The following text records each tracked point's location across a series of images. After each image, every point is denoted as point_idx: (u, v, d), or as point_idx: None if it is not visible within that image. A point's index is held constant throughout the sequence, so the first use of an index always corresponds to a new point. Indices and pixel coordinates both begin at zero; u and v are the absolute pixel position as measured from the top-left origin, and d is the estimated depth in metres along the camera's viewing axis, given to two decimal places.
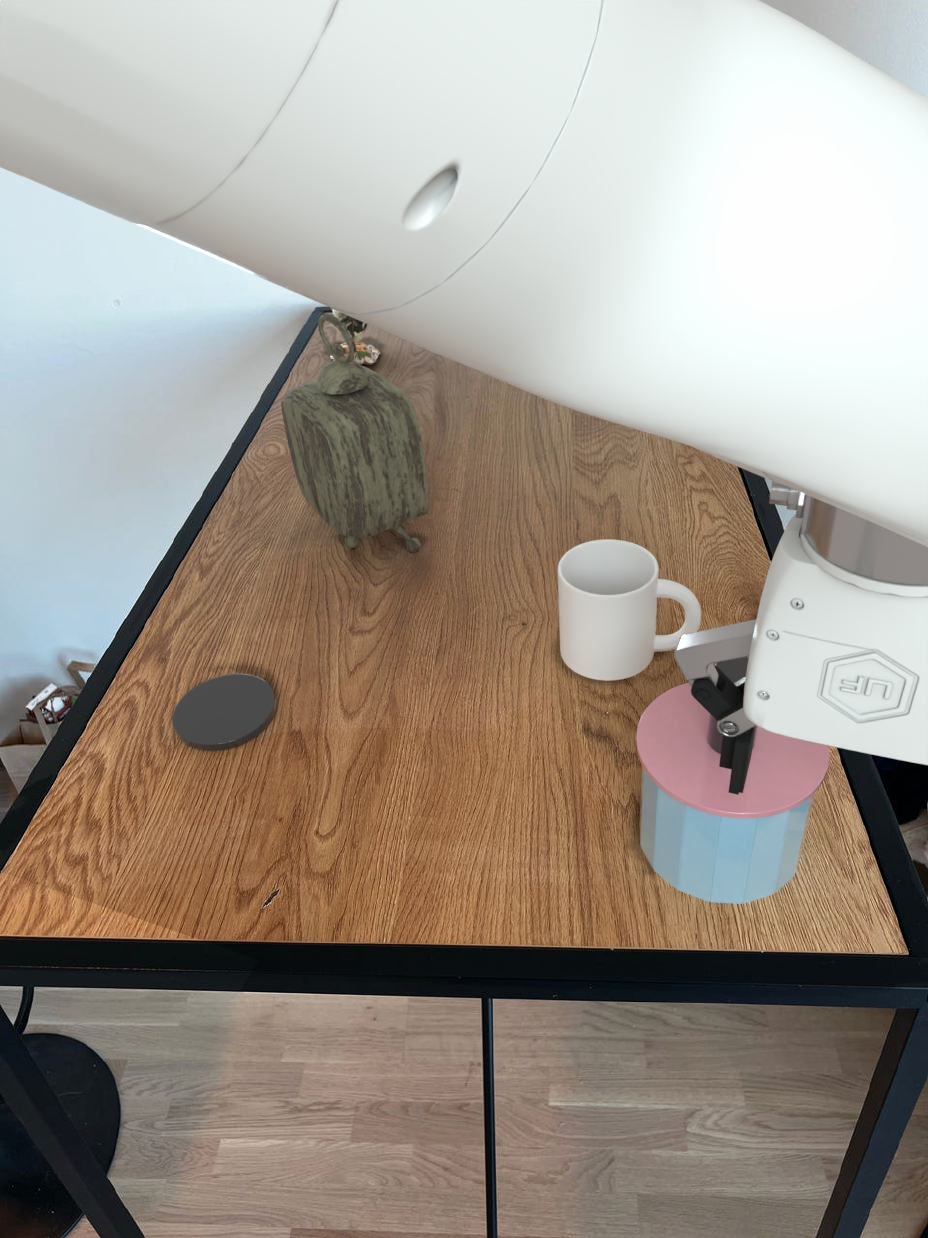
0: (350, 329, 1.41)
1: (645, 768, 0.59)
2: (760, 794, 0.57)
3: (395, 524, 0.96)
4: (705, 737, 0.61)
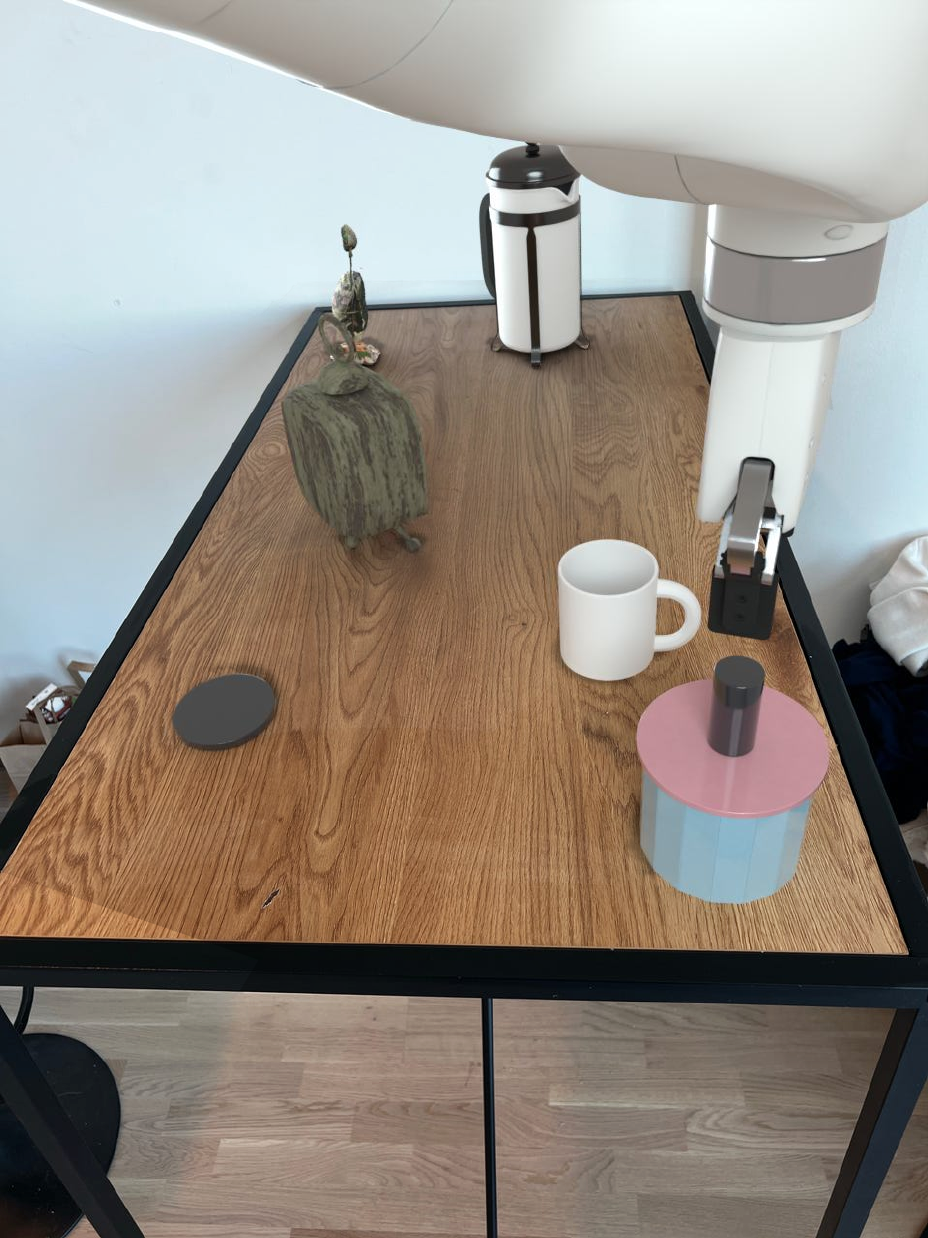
0: (350, 329, 1.41)
1: (645, 768, 0.59)
2: (760, 794, 0.57)
3: (395, 524, 0.96)
4: (705, 737, 0.61)
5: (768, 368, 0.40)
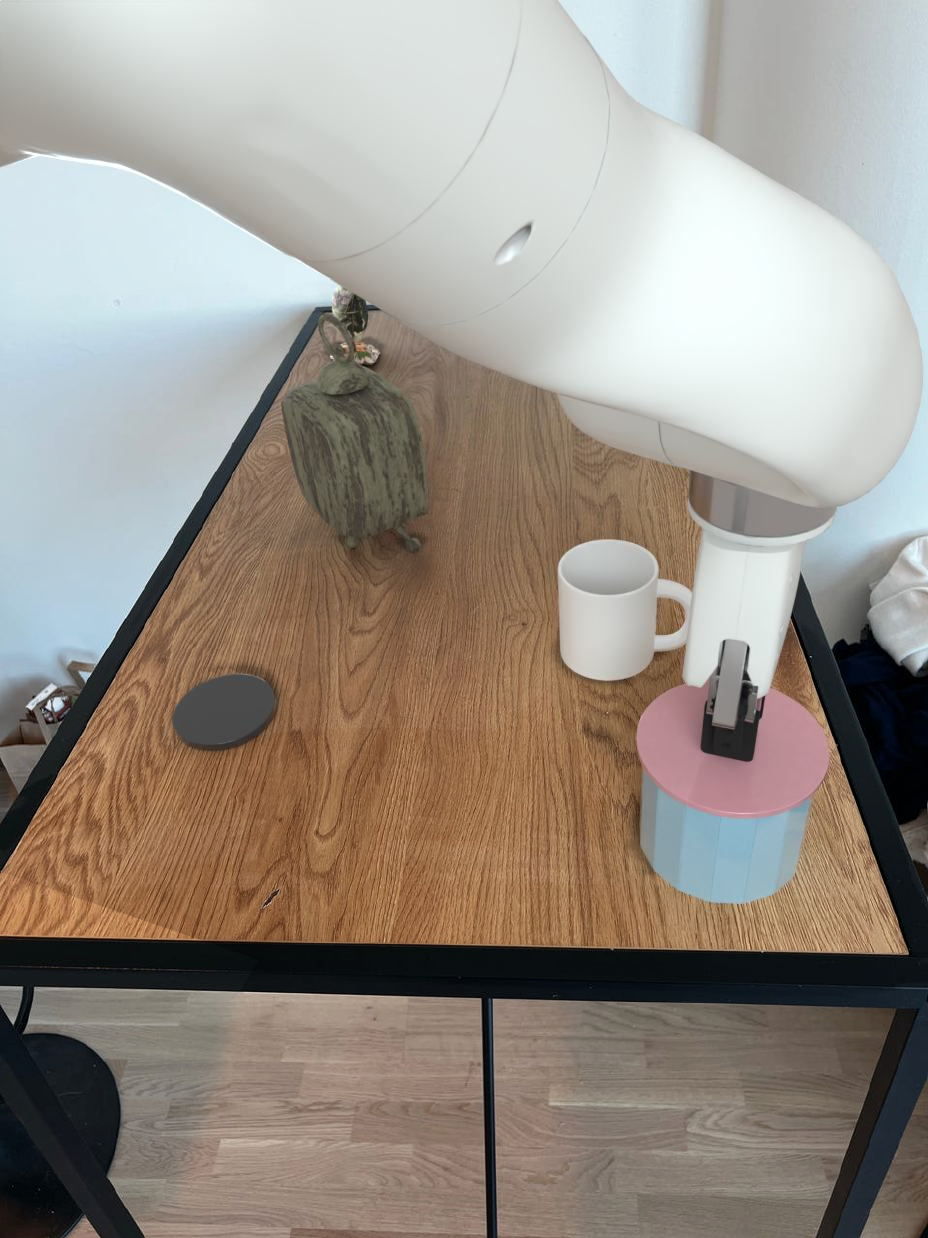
0: (350, 329, 1.41)
1: (645, 768, 0.59)
2: (760, 794, 0.57)
3: (395, 524, 0.96)
4: None
5: (743, 572, 0.47)
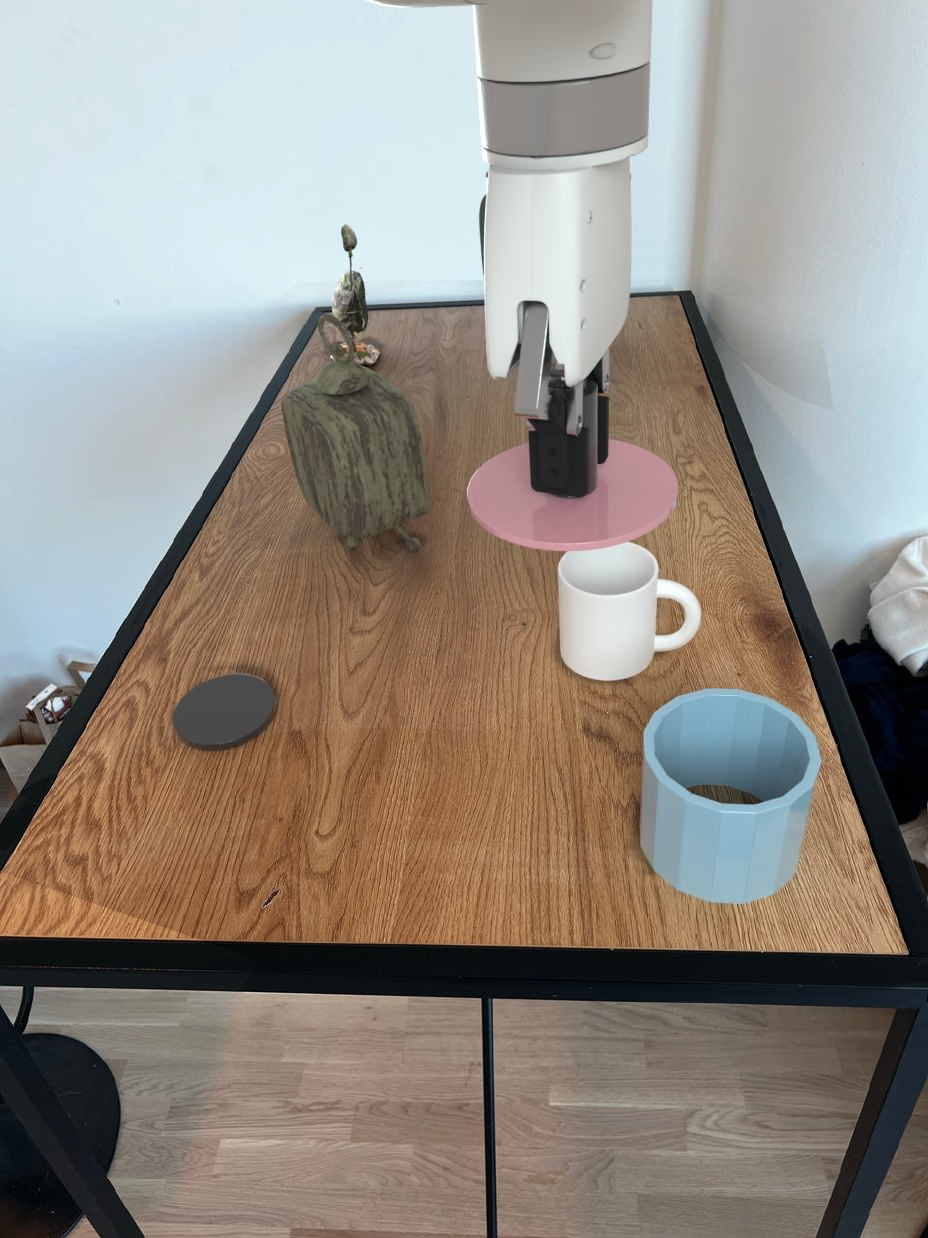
0: (350, 329, 1.41)
1: (471, 510, 0.53)
2: (591, 527, 0.50)
3: (395, 524, 0.96)
4: None
5: (530, 202, 0.40)
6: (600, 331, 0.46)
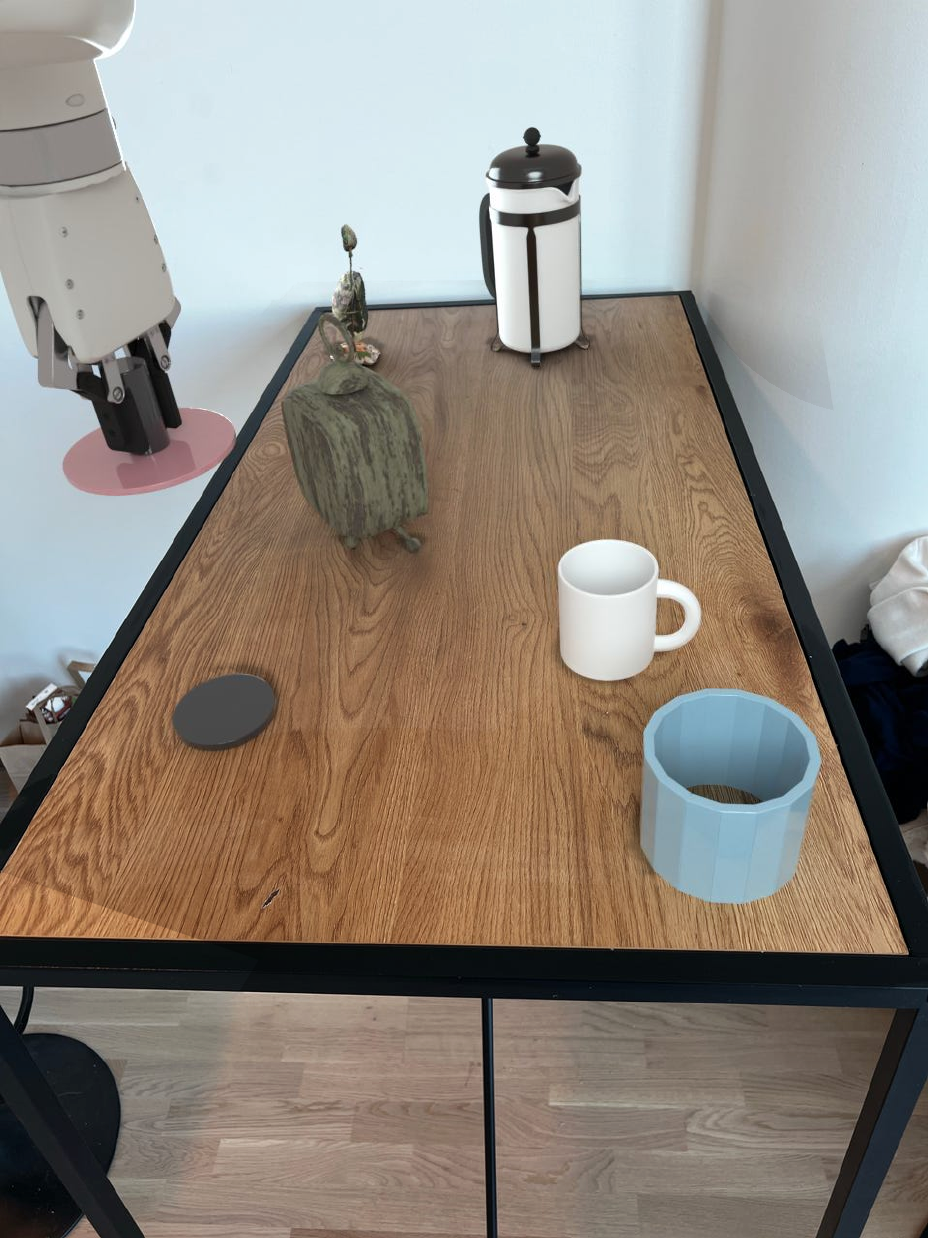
0: (350, 329, 1.41)
1: (63, 466, 0.65)
2: (142, 477, 0.62)
3: (395, 524, 0.96)
4: None
5: (12, 220, 0.53)
6: (113, 319, 0.58)
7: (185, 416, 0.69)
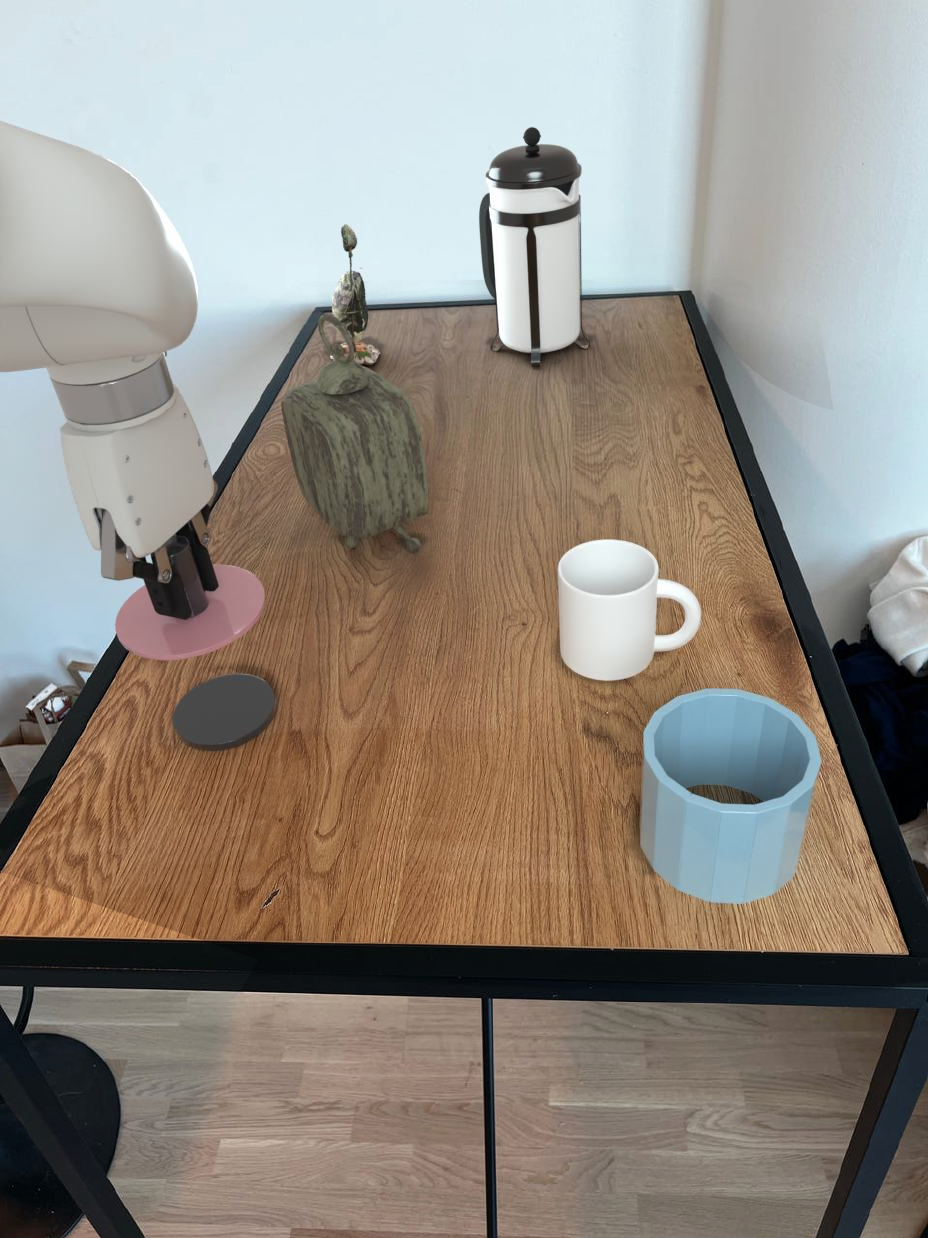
0: (350, 329, 1.41)
1: None
2: (186, 642, 0.72)
3: (395, 524, 0.96)
4: None
5: (83, 452, 0.62)
6: (165, 518, 0.67)
7: (220, 574, 0.79)
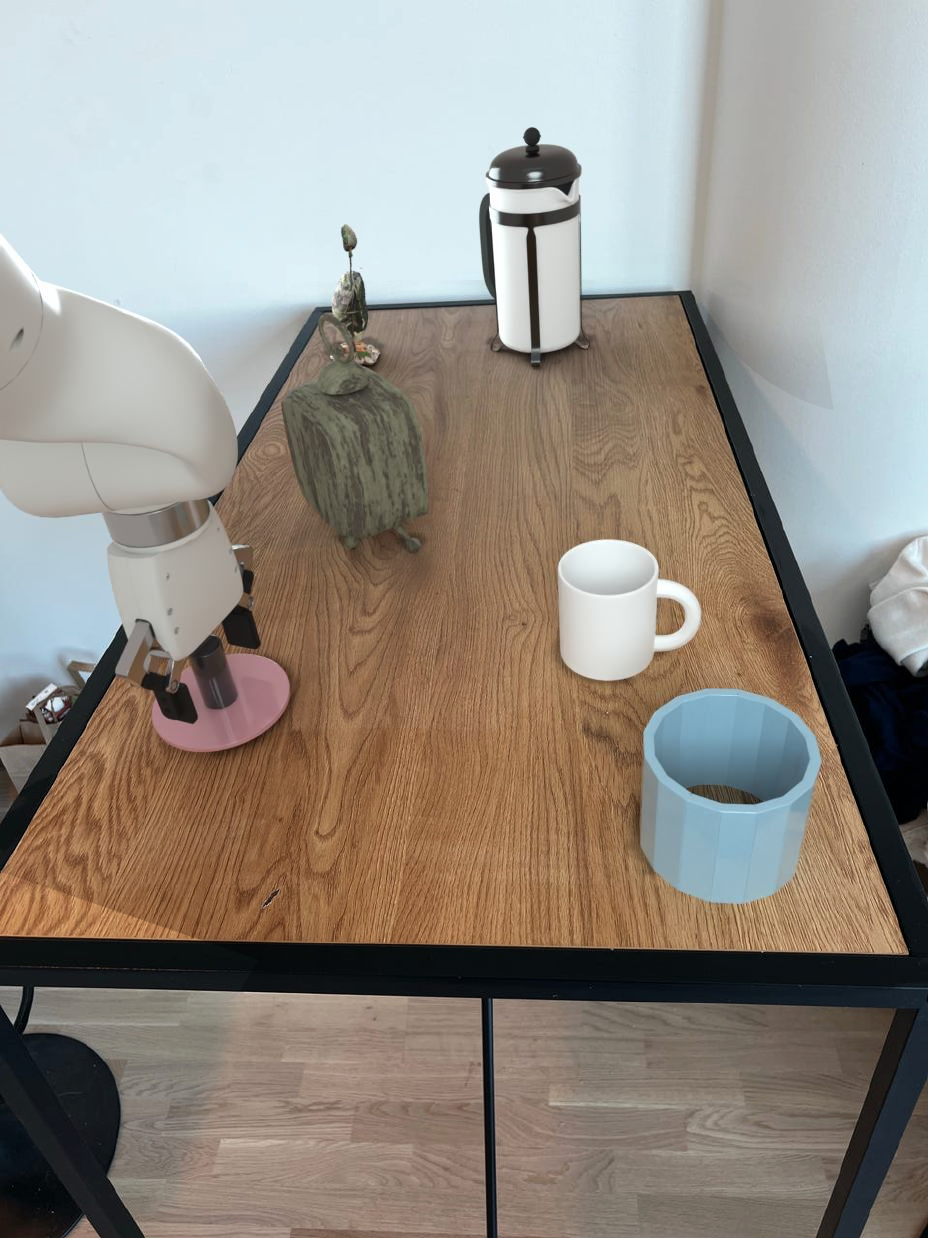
0: (350, 329, 1.41)
1: (152, 718, 0.81)
2: (218, 735, 0.78)
3: (395, 524, 0.96)
4: None
5: (128, 571, 0.68)
6: (200, 624, 0.73)
7: (247, 664, 0.85)
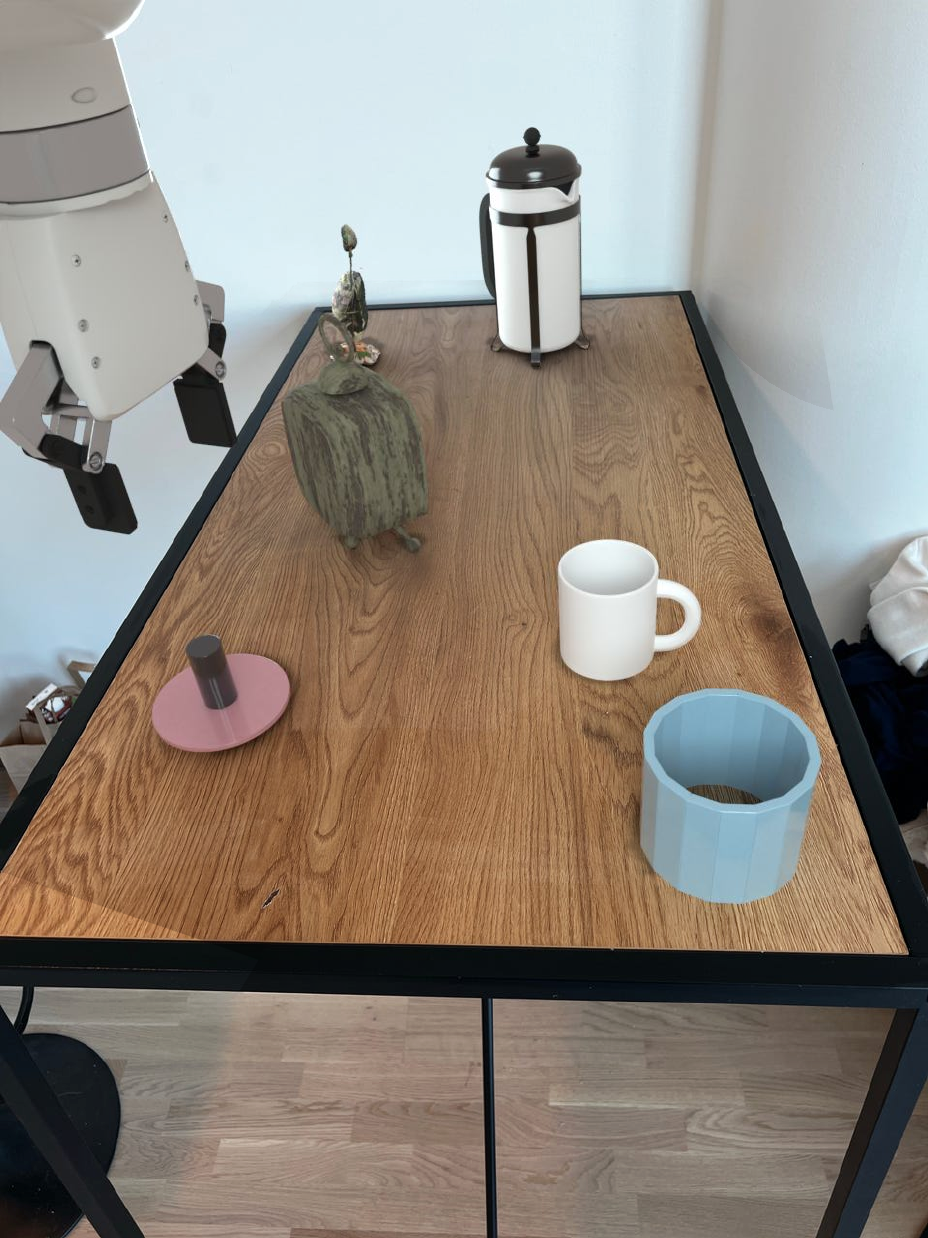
0: (350, 329, 1.41)
1: (152, 718, 0.81)
2: (218, 735, 0.78)
3: (395, 524, 0.96)
4: None
5: (10, 246, 0.41)
6: (137, 366, 0.47)
7: (247, 664, 0.85)
